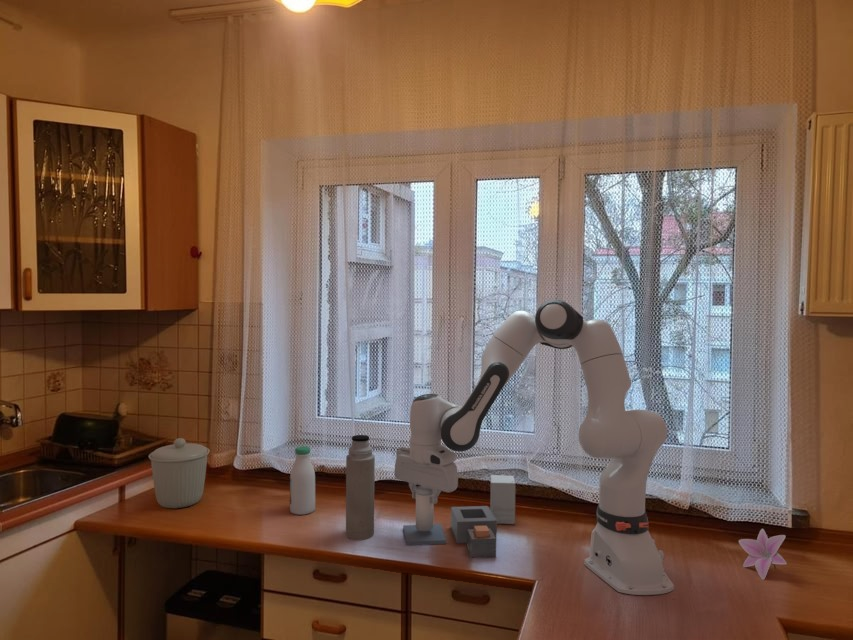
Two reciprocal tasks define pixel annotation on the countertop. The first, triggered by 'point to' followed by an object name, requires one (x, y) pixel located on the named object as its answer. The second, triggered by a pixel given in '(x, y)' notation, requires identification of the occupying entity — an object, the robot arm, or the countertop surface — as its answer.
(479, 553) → the frame
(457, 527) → the housing
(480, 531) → the plunger
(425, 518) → the cylinder
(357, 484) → the thermos bottle
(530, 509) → the countertop surface
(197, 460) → the canister
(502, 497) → the supplement box
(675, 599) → the countertop surface
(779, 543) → the lily
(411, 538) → the mat
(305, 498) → the milk bottle
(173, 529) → the countertop surface
